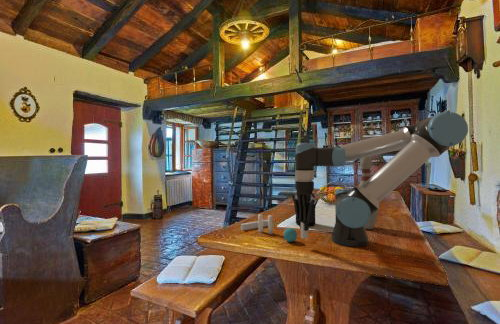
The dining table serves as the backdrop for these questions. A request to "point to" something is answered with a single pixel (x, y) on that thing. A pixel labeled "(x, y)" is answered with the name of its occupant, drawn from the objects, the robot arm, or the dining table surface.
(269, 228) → the front pin
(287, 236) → the ball
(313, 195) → the coffee jar
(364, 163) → the bowling pin
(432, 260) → the dining table surface
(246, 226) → the back wall
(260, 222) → the back pin
